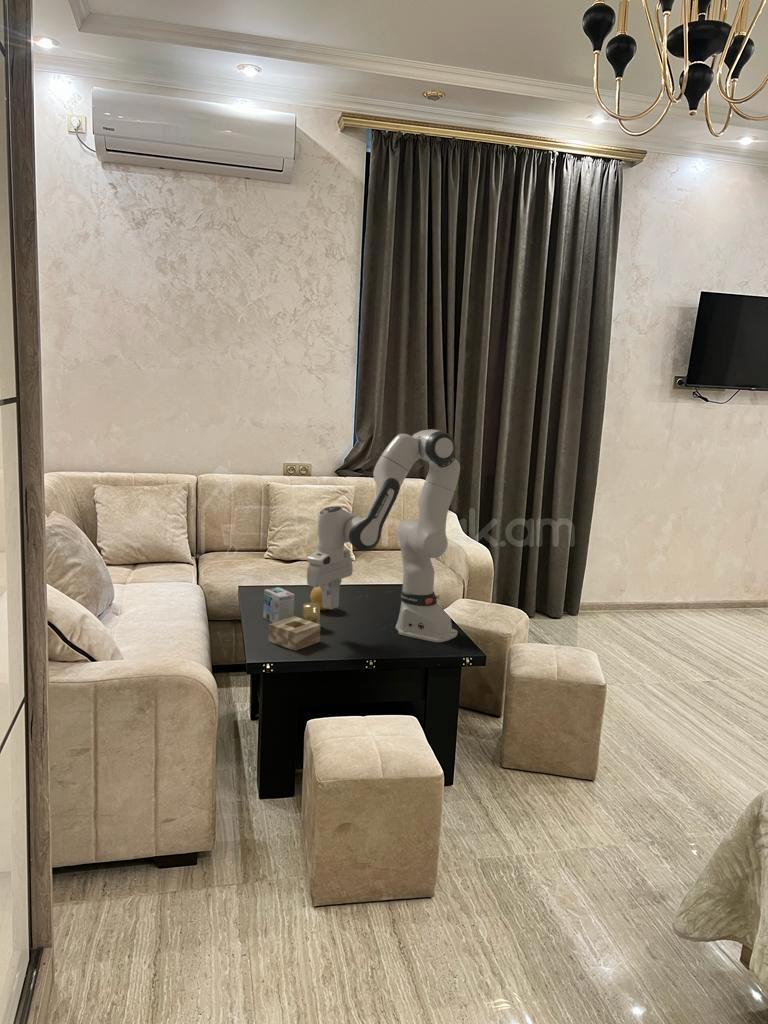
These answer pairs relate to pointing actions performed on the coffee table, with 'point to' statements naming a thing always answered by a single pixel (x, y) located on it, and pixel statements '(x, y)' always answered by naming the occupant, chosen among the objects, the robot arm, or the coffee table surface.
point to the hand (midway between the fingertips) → (330, 593)
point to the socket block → (294, 633)
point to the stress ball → (317, 597)
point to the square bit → (331, 595)
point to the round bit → (311, 612)
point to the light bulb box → (278, 604)
